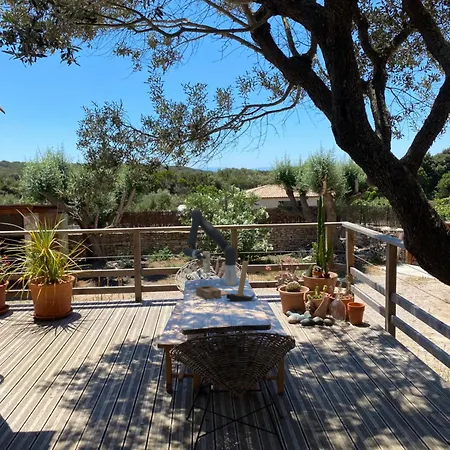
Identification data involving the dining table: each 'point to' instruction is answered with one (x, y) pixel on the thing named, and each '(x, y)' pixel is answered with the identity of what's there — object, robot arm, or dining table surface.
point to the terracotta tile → (223, 293)
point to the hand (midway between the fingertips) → (208, 257)
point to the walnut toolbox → (208, 292)
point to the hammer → (241, 286)
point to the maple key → (206, 262)
